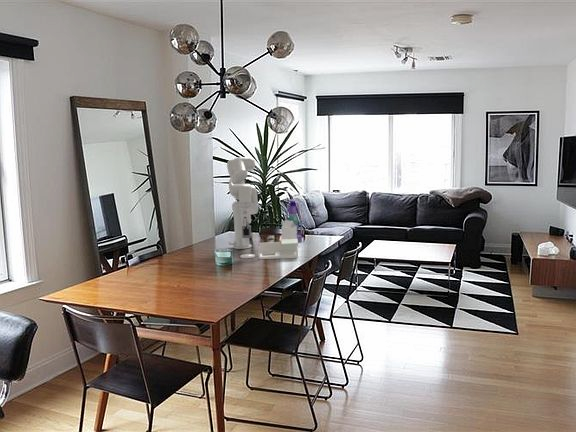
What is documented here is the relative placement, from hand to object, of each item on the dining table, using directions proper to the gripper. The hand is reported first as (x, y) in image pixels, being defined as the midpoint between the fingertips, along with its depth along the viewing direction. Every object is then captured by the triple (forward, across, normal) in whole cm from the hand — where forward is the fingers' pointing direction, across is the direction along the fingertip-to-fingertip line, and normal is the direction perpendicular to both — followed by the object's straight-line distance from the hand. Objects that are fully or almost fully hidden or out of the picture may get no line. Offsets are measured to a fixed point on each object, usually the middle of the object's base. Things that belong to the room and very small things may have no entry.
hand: (246, 234), depth 350 cm
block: (+2, 0, 0) cm, 2 cm away
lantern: (+14, +48, -29) cm, 58 cm away
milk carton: (+15, +20, -26) cm, 36 cm away
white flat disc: (+14, 0, 0) cm, 14 cm away
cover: (+7, 0, -26) cm, 27 cm away
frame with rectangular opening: (+14, 0, -19) cm, 24 cm away
